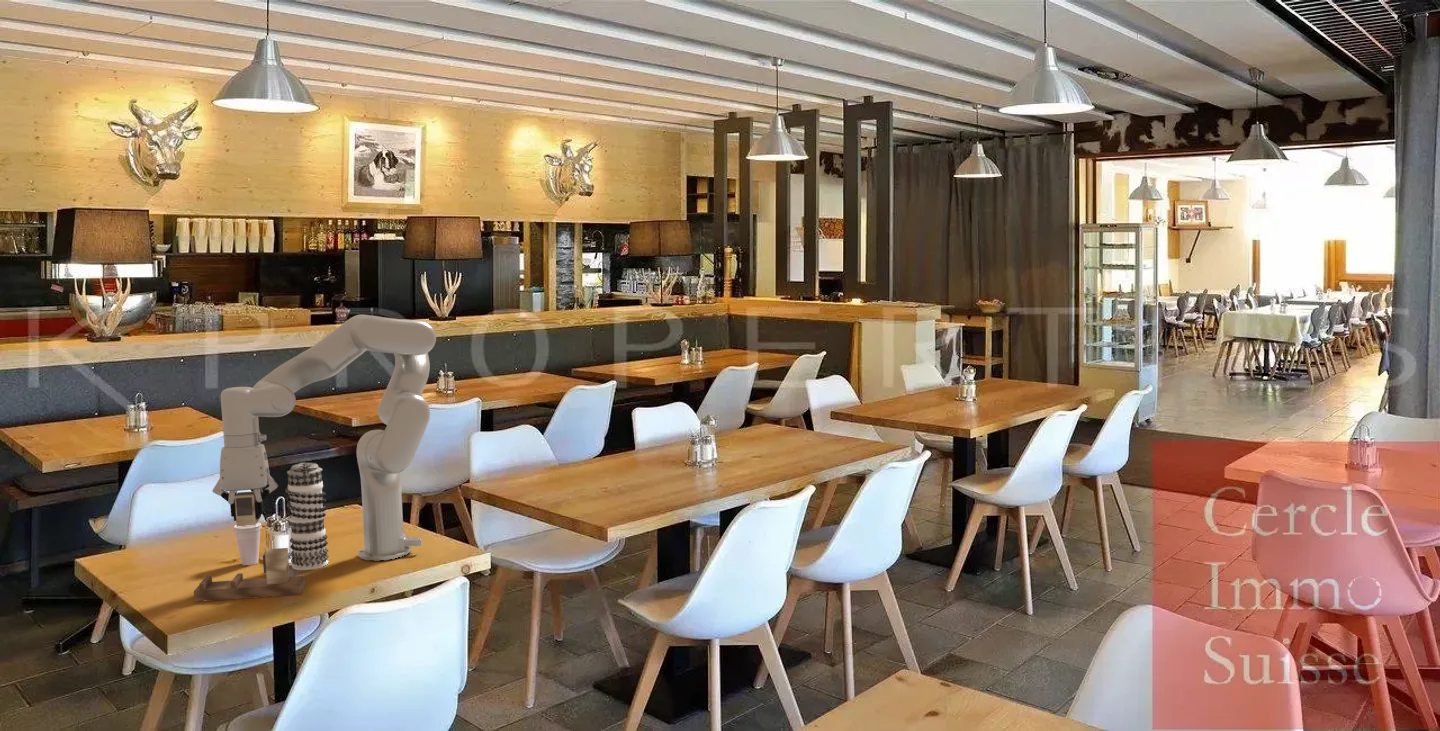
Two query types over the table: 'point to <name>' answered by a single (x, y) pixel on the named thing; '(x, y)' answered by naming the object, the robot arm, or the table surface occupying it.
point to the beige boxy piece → (245, 508)
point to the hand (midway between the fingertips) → (247, 517)
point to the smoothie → (248, 542)
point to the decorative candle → (307, 516)
